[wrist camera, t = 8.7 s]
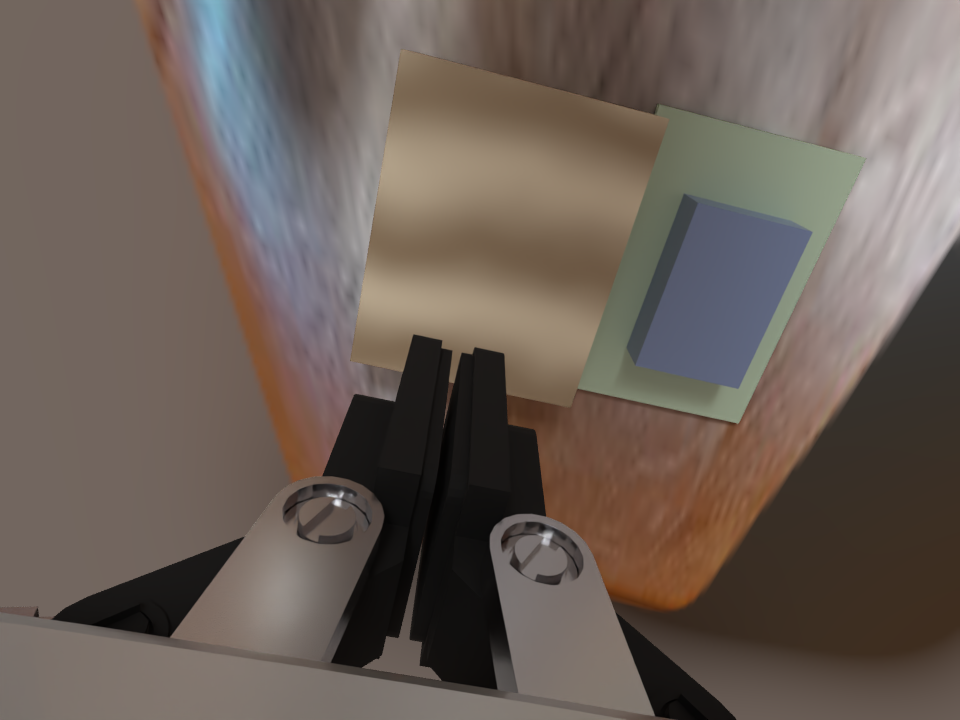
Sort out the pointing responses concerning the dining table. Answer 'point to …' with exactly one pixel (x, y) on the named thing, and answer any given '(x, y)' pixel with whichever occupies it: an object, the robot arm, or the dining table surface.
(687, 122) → the mat
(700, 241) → the blue rectangular block
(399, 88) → the plate
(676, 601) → the dining table surface
